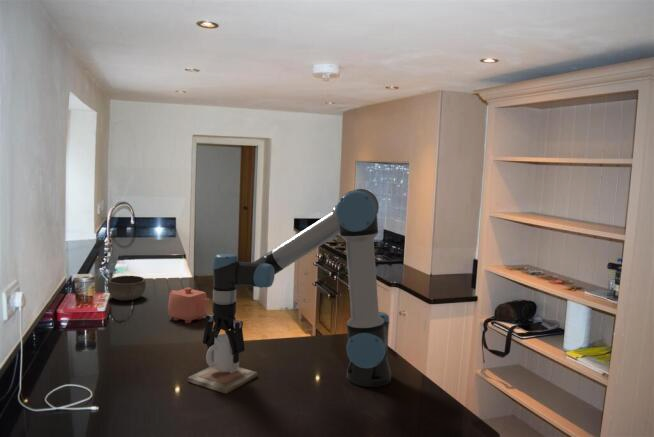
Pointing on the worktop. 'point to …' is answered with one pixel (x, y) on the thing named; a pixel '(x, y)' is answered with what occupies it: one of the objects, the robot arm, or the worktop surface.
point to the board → (222, 379)
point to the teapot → (187, 304)
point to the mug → (220, 354)
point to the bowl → (126, 287)
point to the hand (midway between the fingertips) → (222, 368)
